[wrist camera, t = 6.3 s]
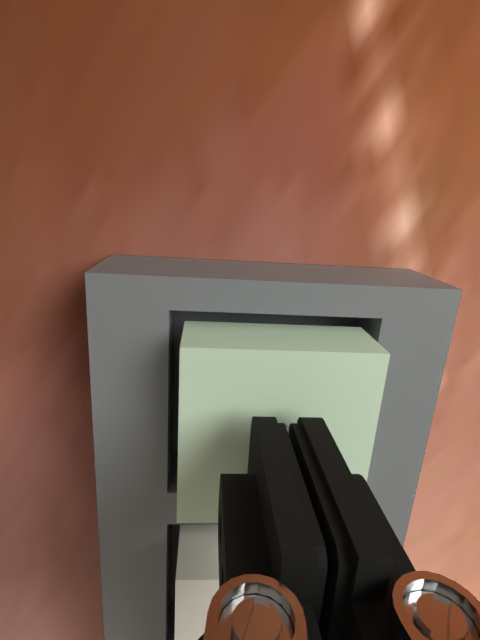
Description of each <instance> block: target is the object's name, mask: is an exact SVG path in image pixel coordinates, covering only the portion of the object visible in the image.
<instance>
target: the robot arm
mask: <svg viewBox="0 0 480 640" xmlns="http://www.w3.org/2000/svg"><path fill="white" fill-rule="evenodd" d="M218 559H219V589H218V590H217V592H216V593H215V595H214V596H213V597H212V600H211V603H210V606H209V609H208V612H207V619H206V625H205V632H204V634H203V635H202V636H201V637H200V638H199V639H198V640H480V602H479V601H478V600H477V599H476V598H475V597H474V596H473V595H472V594H471V593H470V592H469V591H468V590H466V589H465V588H464V587H462V586H461V585H459V584H458V583H456V582H455V581H453V580H451V579H449V578H446V577H444V576H442V575H440V574H436V573H432V572H428V571H415V569H414V567H413V565H412V563H411V562H410V560H409V558H408V556H407V554H406V553H405V551H404V549H403V547H402V545H401V543H400V542H399V540H398V538H397V536H396V534H395V533H394V531H393V529H392V527H391V525H390V524H389V522H388V520H387V518H386V516H385V514H384V513H383V511H382V509H381V507H380V505H379V504H378V502H377V500H376V498H375V496H374V495H373V493H372V491H371V489H370V487H369V485H368V484H367V482H366V480H365V479H364V477H363V476H362V475H360V474H352V473H351V472H350V470H349V468H348V466H347V464H346V462H345V460H344V458H343V456H342V454H341V452H340V450H339V448H338V446H337V444H336V442H335V440H334V438H333V437H332V435H331V433H330V431H329V429H328V427H327V425H326V423H325V421H324V419H323V418H321V417H299V418H298V420H297V423H291V424H290V426H289V432H287V429H286V426H285V423H278V422H277V419H276V417H258V416H253V417H252V420H251V431H250V444H249V457H248V470H247V474H221V475H220V486H219V505H218Z"/></svg>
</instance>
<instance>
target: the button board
mask: <svg viewBox="0 0 480 640" xmlns="http://www.w3.org/2000/svg"><path fill="white" fill-rule="evenodd" d="M85 290H86V309H87V327H88V346H89V365H90V384H91V402H92V421H93V440H94V458H95V477H96V496H97V514H98V533H99V552H100V570H101V589H102V608H103V627H104V640H174V635H175V580H176V569H177V557H178V545H179V534H180V525H206V524H218V523H177V471H178V416H179V361H180V343H181V338H182V333H183V327H184V322H185V321H206V322H234V323H262V324H289V325H317V326H344V327H361V328H362V329H364V330H365V331H366V332H367V333H368V334H369V335H370V336H371V337H372V338H373V339H375V340H376V341H377V342H378V343H379V344H380V345H381V346H382V347H383V348H385V349H386V350H387V351H388V352H389V353H390V359H389V364H388V370H387V375H386V380H385V386H384V391H383V397H382V402H381V407H380V413H379V418H378V424H377V429H376V434H375V440H374V445H373V451H372V456H371V461H370V467H369V472H368V478H367V484H368V485H369V487H370V489H371V491H372V493H373V495H374V496H375V498H376V500H377V502H378V504H379V505H380V507H381V509H382V511H383V513H384V514H385V516H386V518H387V520H388V522H389V524H390V525H391V527H392V529H393V531H394V533H395V534H396V536H397V538H398V540H399V542H400V543H401V545H402V547H403V545H404V541H405V536H406V532H407V528H408V523H409V519H410V515H411V510H412V506H413V502H414V497H415V493H416V489H417V484H418V480H419V475H420V471H421V467H422V462H423V458H424V454H425V449H426V445H427V441H428V436H429V432H430V428H431V423H432V419H433V415H434V410H435V406H436V402H437V397H438V393H439V389H440V384H441V380H442V376H443V371H444V367H445V363H446V358H447V354H448V350H449V345H450V341H451V337H452V332H453V328H454V323H455V319H456V315H457V310H458V306H459V302H460V297H461V293H462V290H461V289H459V288H456V287H454V286H451V285H449V284H446V283H444V282H441V281H439V280H436V279H434V278H431V277H429V276H426V275H424V274H421V273H419V272H416V271H413V270H411V269H393V268H373V267H353V266H332V265H312V264H292V263H272V262H252V261H231V260H211V259H191V258H171V257H151V256H130V255H110V256H109V257H107V258H106V259H104V260H103V261H101V262H100V263H98V264H97V265H95V266H94V267H92V268H91V269H89V270H88V271H86V272H85Z"/></svg>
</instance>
